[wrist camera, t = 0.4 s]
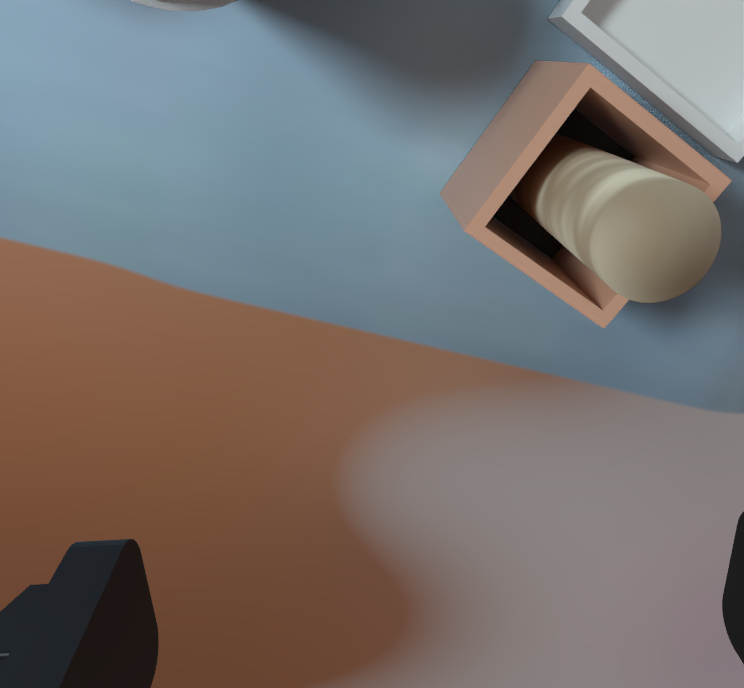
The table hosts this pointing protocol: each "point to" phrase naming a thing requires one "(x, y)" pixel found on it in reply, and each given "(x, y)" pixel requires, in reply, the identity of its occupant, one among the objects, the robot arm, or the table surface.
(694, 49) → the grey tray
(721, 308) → the table surface
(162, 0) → the disposable coffee cup
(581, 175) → the maple peg
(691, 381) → the table surface
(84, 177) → the table surface
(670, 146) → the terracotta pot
